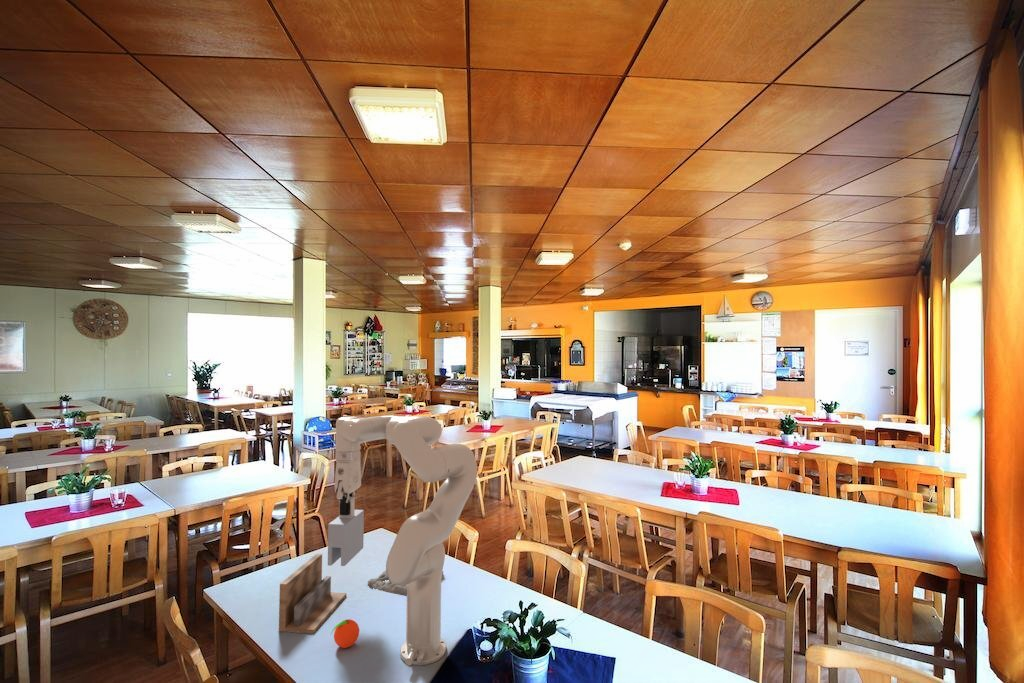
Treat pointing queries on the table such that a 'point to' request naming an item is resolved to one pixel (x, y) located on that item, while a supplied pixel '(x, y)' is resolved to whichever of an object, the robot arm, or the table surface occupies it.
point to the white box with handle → (346, 535)
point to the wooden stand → (306, 598)
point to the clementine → (346, 633)
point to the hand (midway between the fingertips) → (347, 512)
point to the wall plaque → (388, 584)
